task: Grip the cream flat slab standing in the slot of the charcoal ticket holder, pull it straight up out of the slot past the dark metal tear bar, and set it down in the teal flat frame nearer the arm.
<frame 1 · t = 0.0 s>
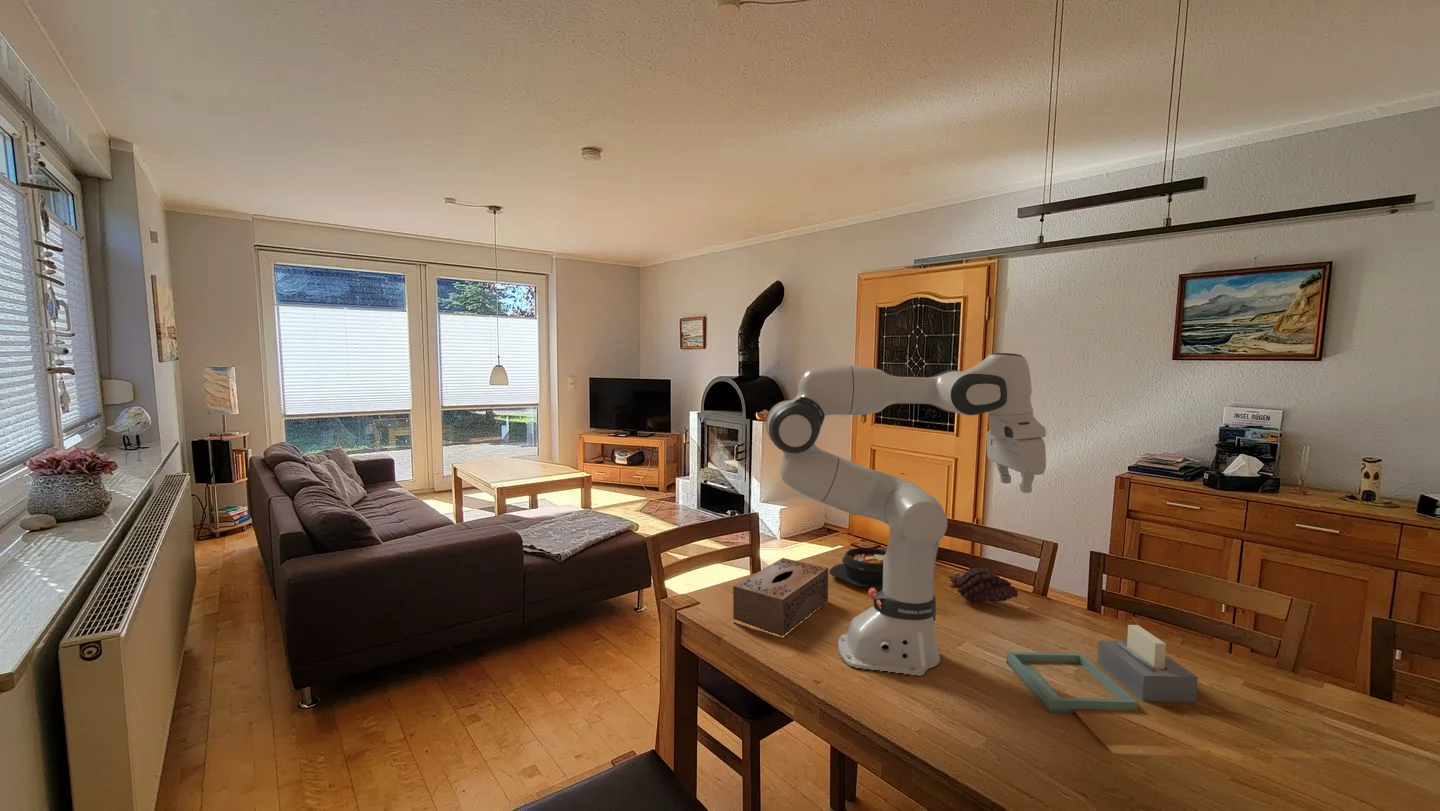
hand: (1015, 487, 125), 39 cm above the table, tool pointing down, fingers open, 8 cm apart
teal flat frame: (1066, 686, 116), on the table
tissue box cover: (782, 613, 151), on the table
cream flat slab: (1143, 681, 116), point 1 cm above the table, touching ticket holder
ticket holder: (1143, 685, 116), on the table
pine cone: (980, 604, 156), on the table
casserole: (870, 582, 172), on the table
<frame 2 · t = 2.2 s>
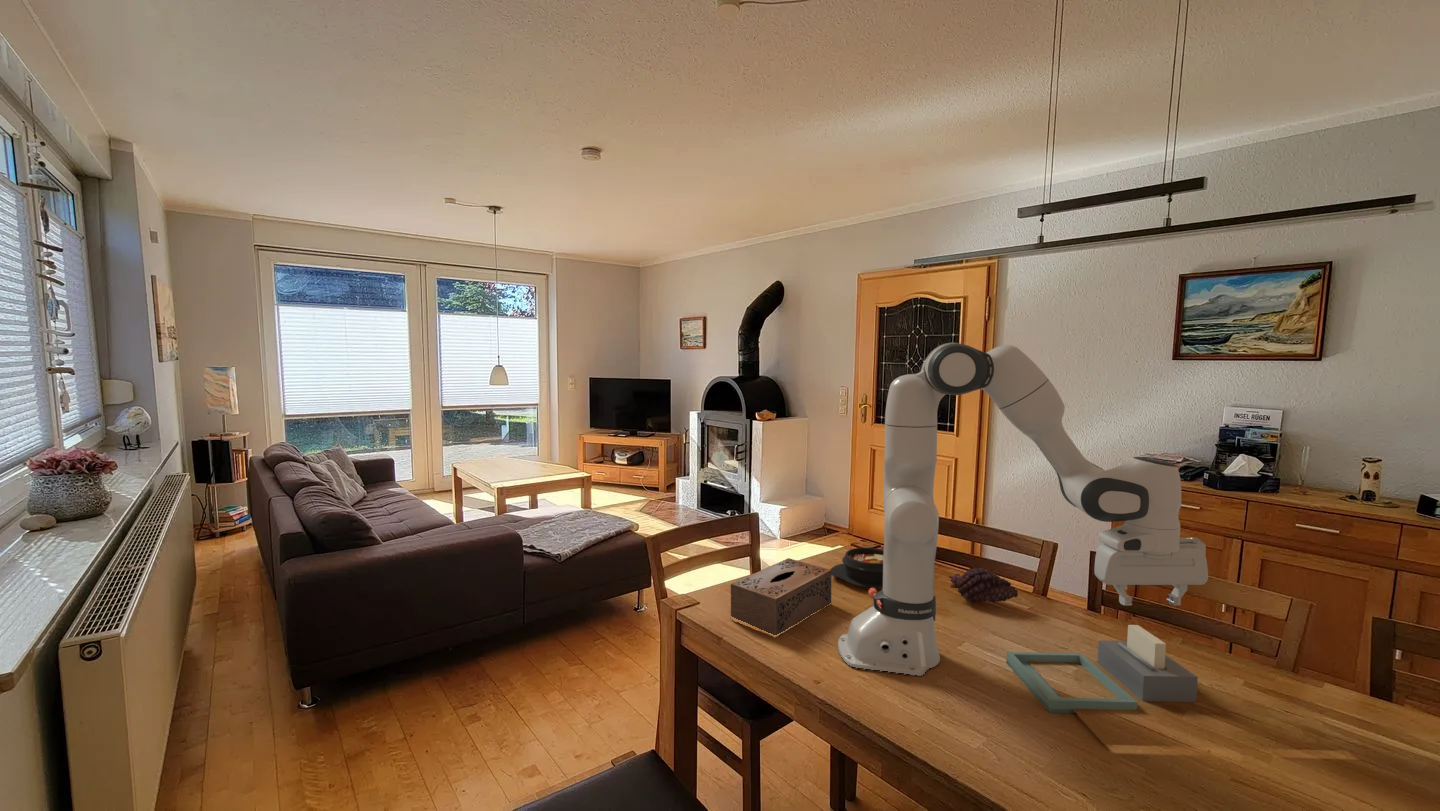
hand: (1149, 604, 115), 17 cm above the table, tool pointing down, fingers open, 8 cm apart
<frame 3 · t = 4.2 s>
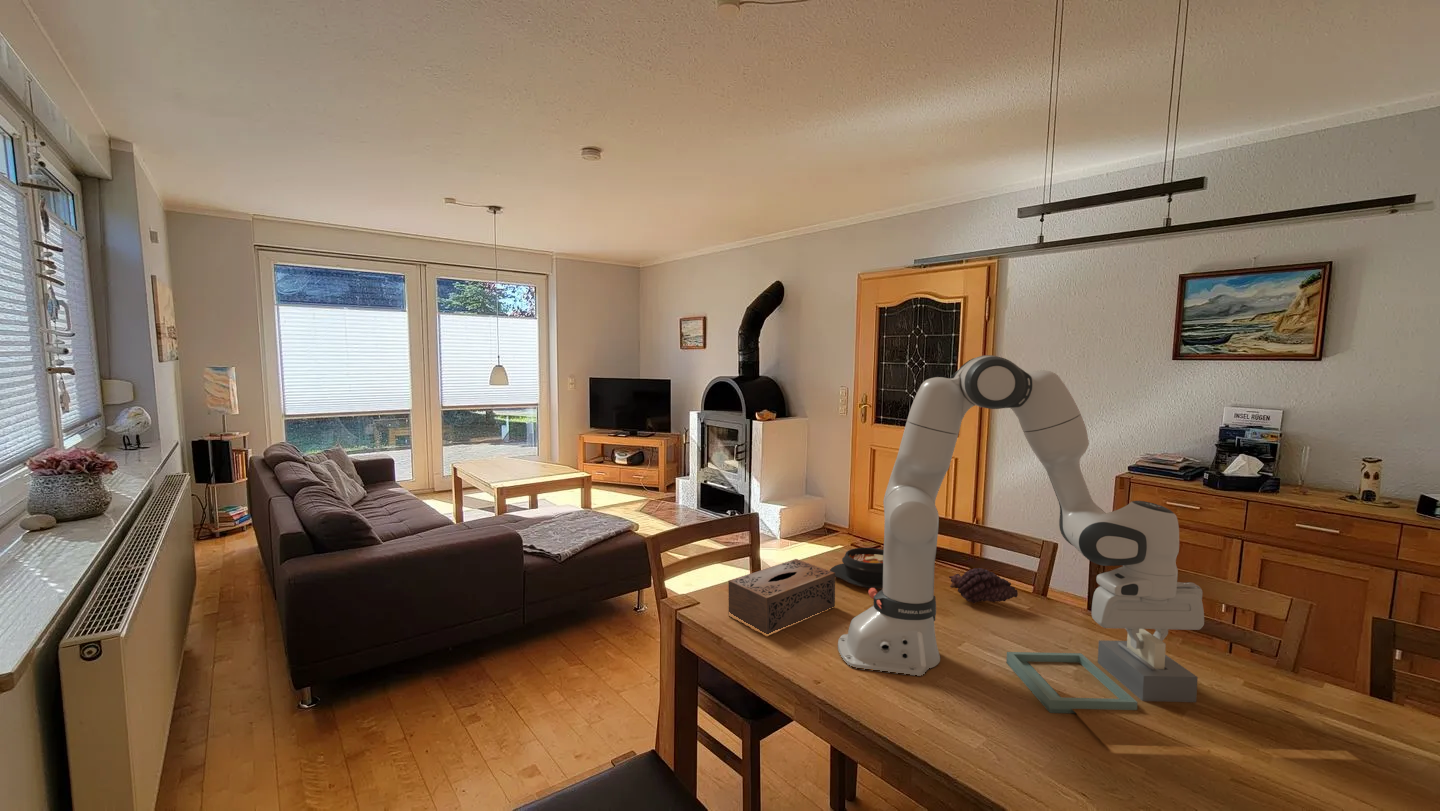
hand: (1145, 647, 115), 8 cm above the table, tool pointing down, fingers closed on cream flat slab, 2 cm apart
cream flat slab: (1143, 681, 116), point 1 cm above the table, touching gripper, ticket holder
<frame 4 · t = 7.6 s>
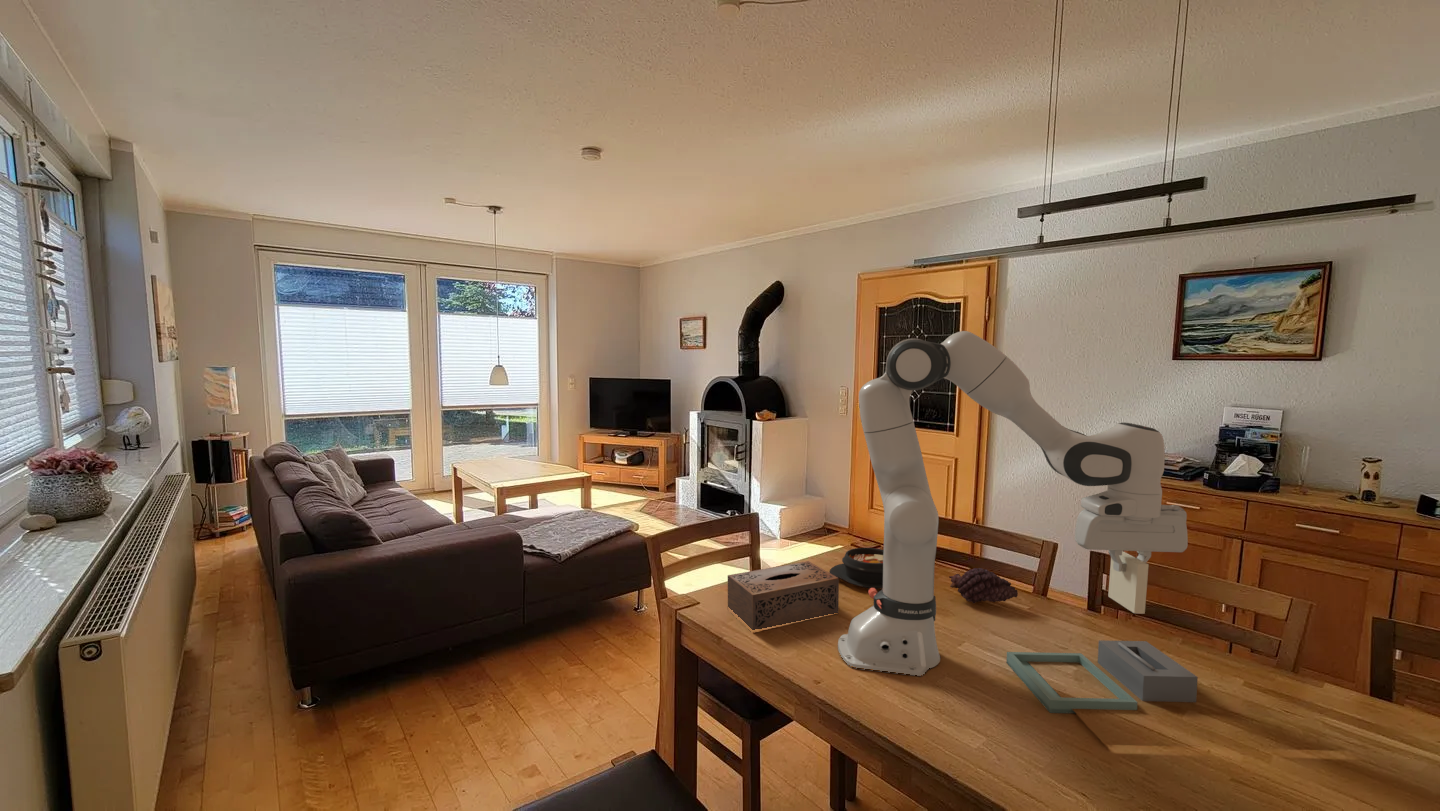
hand: (1128, 571, 114), 24 cm above the table, tool pointing down, fingers closed on cream flat slab
cream flat slab: (1125, 604, 115), point 17 cm above the table, touching gripper
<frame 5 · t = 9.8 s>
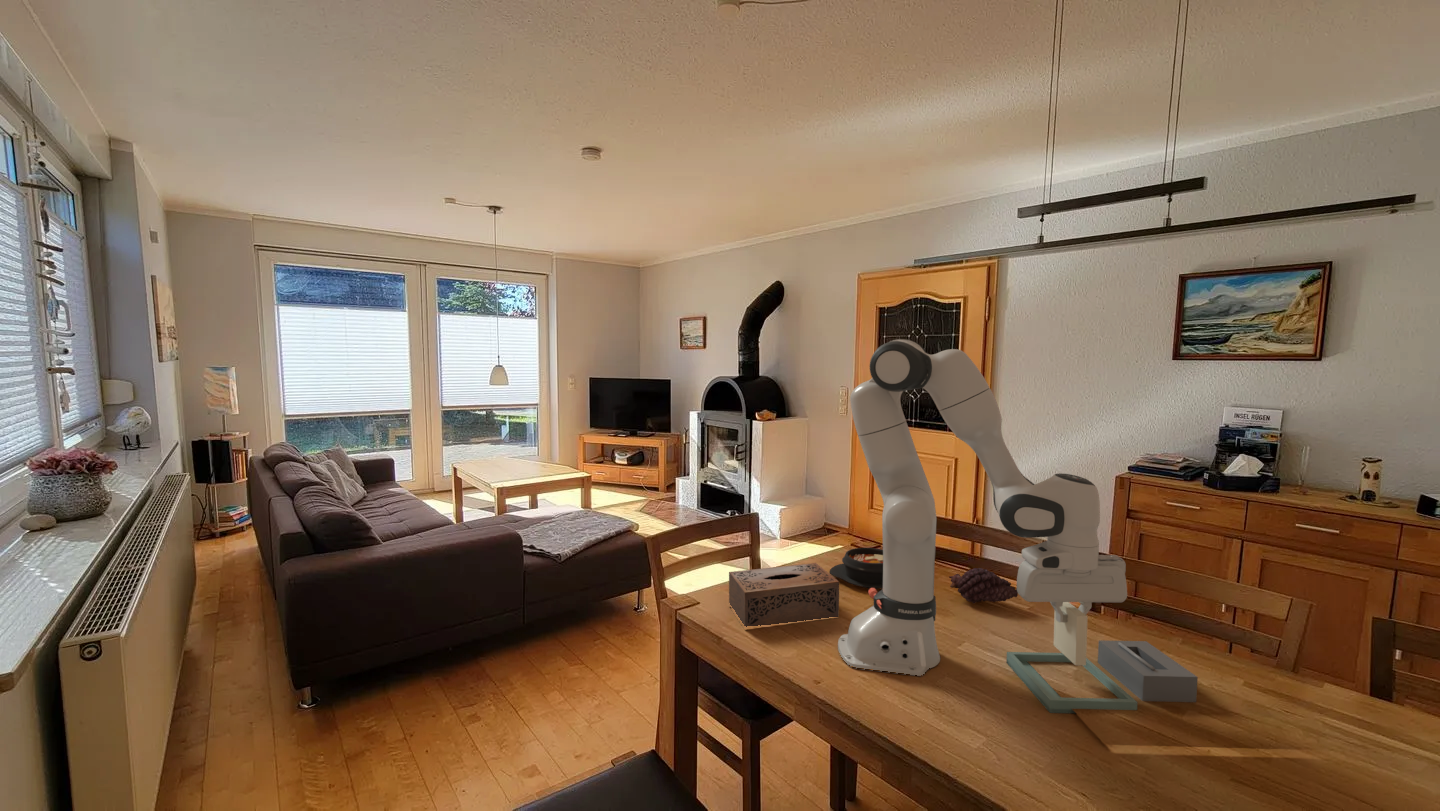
hand: (1070, 621, 115), 14 cm above the table, tool pointing down, fingers closed on cream flat slab
cream flat slab: (1069, 654, 115), point 7 cm above the table, touching gripper
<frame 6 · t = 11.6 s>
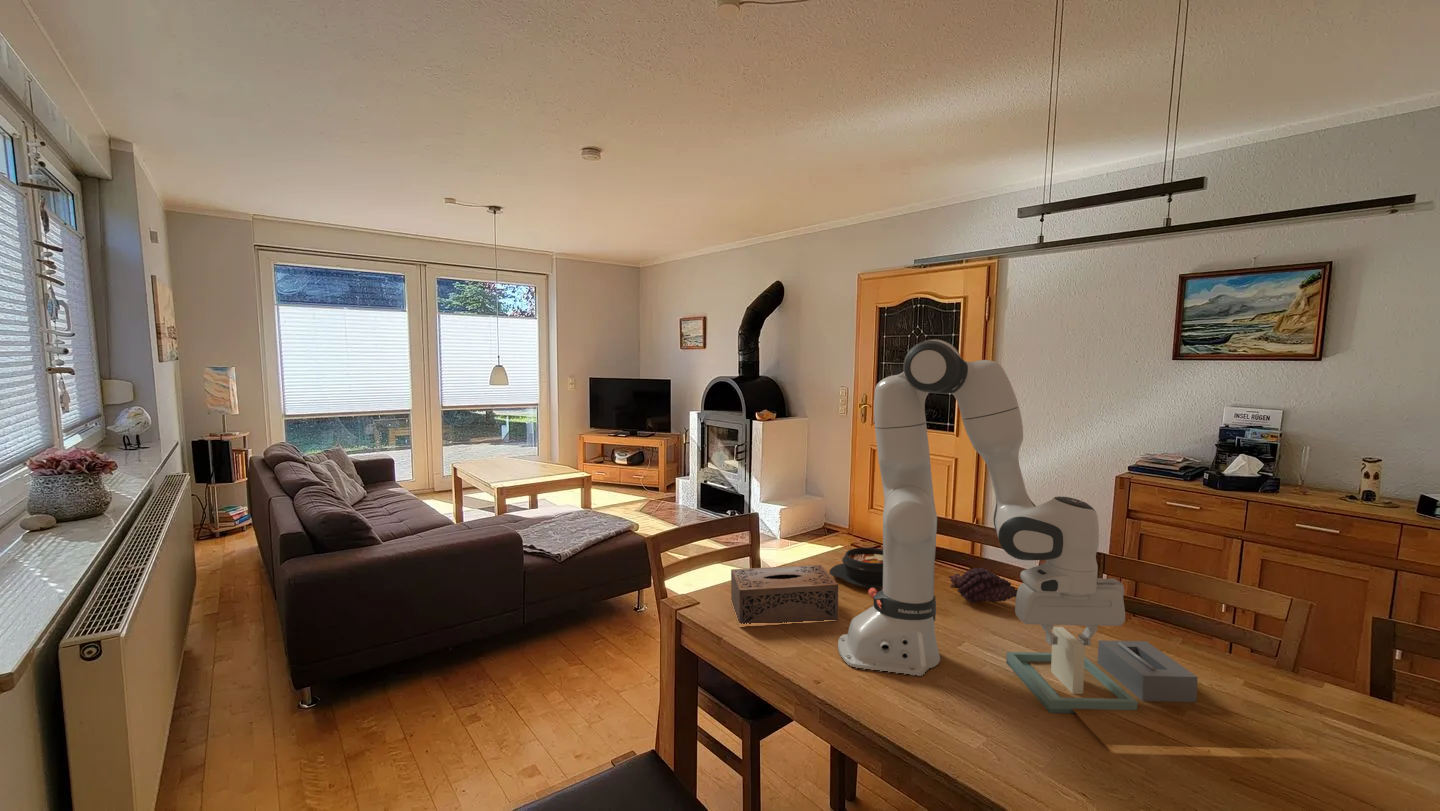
hand: (1067, 643, 115), 9 cm above the table, tool pointing down, fingers open, 5 cm apart
cream flat slab: (1066, 683, 116), point 1 cm above the table, touching teal flat frame
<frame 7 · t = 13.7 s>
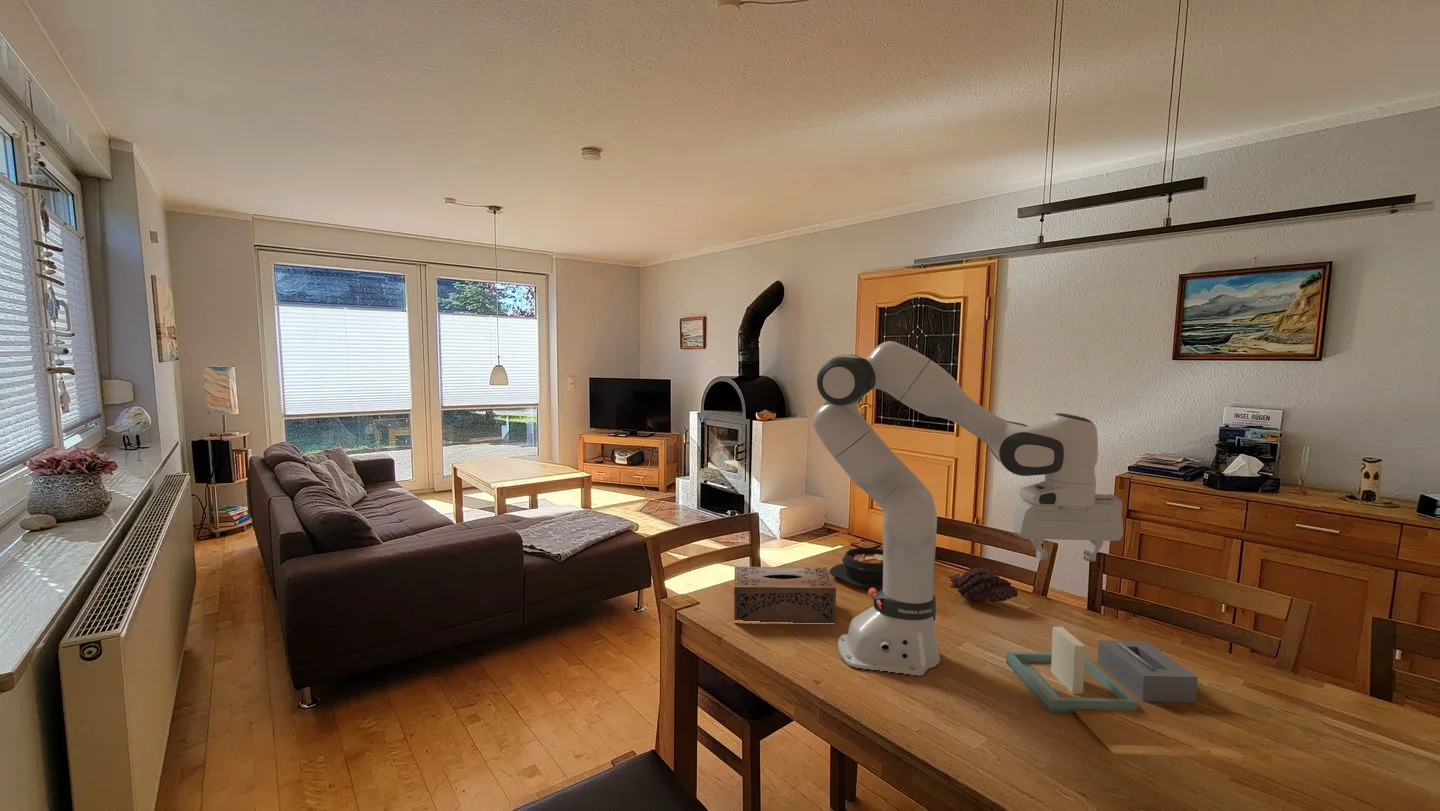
hand: (1065, 559, 116), 26 cm above the table, tool pointing down, fingers open, 8 cm apart
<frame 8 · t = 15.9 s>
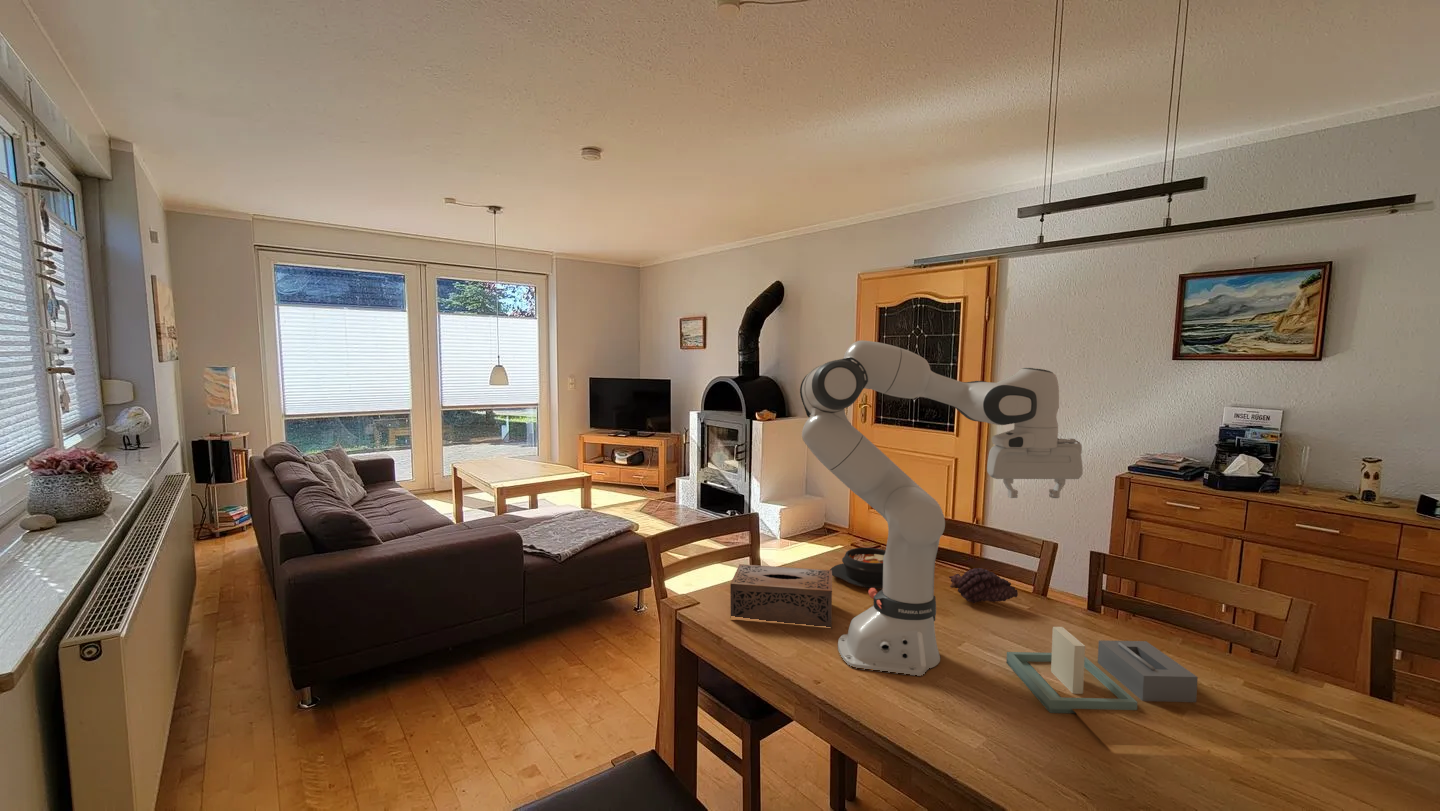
hand: (1033, 497, 131), 35 cm above the table, tool pointing down, fingers open, 8 cm apart
at the end: cream flat slab inside the target area on the teal flat frame (0.0 cm from its centre), point 0.8 cm above the teal flat frame's base; the gripper is holding nothing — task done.
